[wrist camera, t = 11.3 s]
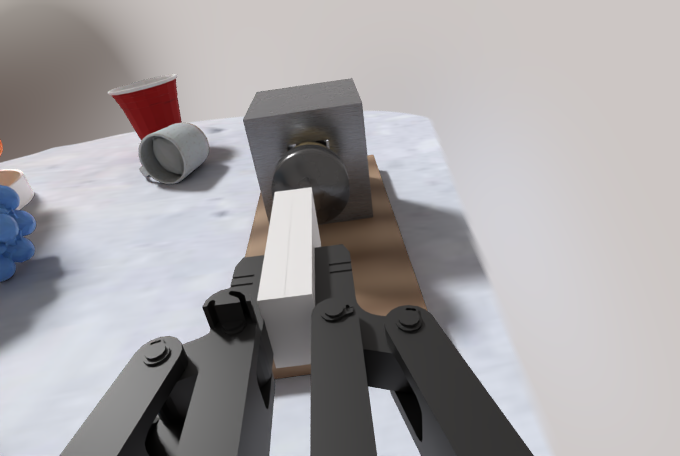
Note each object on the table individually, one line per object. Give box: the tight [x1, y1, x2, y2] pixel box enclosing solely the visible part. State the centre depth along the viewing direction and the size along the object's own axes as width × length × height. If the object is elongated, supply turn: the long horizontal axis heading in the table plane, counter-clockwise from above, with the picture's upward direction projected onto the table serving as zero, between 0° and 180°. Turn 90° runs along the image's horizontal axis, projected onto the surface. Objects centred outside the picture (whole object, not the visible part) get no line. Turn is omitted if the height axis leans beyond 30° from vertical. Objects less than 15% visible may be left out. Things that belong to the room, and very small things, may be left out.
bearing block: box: [243, 78, 373, 225], centre depth 42 cm, size 10×10×11 cm
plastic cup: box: [108, 74, 182, 140], centre depth 70 cm, size 11×11×12 cm
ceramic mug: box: [139, 123, 209, 184], centre depth 62 cm, size 10×8×7 cm
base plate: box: [245, 155, 427, 379], centre depth 41 cm, size 32×14×2 cm, turn 3°
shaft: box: [271, 140, 350, 224], centre depth 40 cm, size 18×6×6 cm, turn 3°
